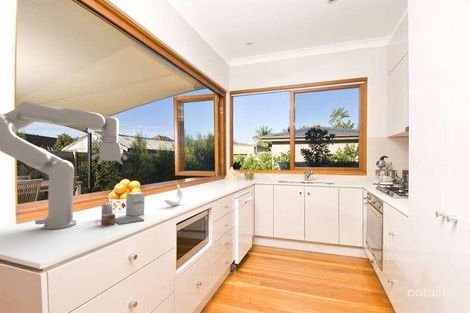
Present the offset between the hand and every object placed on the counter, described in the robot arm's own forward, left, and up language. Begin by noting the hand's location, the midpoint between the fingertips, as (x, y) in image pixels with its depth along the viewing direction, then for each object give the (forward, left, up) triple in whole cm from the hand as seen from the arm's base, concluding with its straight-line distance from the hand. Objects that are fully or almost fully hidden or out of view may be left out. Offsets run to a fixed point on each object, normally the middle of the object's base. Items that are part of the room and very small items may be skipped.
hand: (109, 171), depth 126 cm
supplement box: (+14, +1, -26) cm, 29 cm away
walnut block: (-3, -12, -26) cm, 28 cm away
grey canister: (-1, 0, -25) cm, 25 cm away
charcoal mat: (+7, -10, -25) cm, 28 cm away
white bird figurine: (+44, +12, -26) cm, 53 cm away
